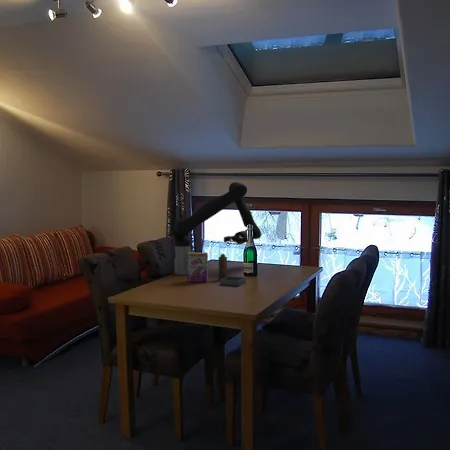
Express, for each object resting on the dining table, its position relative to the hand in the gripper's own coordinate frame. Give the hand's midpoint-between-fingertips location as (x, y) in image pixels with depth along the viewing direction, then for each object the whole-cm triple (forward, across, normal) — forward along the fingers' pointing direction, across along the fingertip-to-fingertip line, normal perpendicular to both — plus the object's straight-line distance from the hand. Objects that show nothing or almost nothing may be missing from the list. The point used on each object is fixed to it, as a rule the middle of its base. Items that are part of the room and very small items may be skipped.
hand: (231, 240), depth 306 cm
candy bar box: (+21, -11, +21) cm, 32 cm away
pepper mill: (+11, 0, +21) cm, 24 cm away
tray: (+19, +10, +21) cm, 30 cm away
